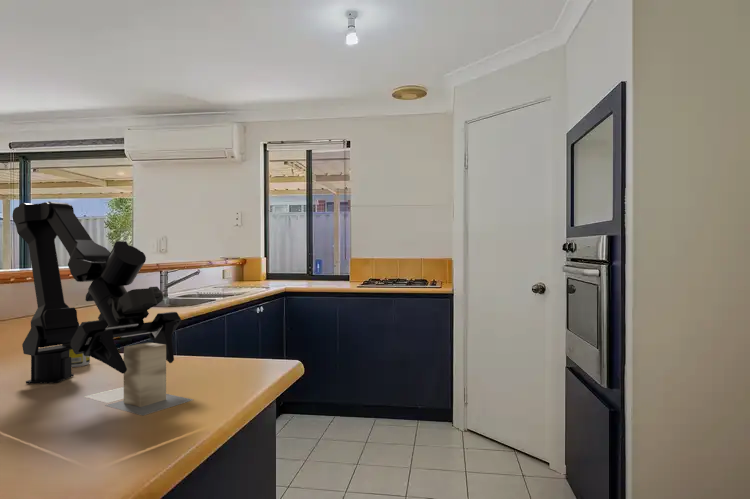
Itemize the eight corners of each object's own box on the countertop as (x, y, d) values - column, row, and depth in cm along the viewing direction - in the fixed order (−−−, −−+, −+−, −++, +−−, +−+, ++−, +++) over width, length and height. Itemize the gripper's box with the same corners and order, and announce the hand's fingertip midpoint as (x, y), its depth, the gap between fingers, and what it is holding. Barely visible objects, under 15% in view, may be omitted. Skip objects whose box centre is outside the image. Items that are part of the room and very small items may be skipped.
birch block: (123, 402, 85) (123, 346, 86) (149, 395, 90) (149, 342, 90) (140, 407, 83) (140, 349, 83) (166, 399, 87) (166, 344, 87)
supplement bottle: (80, 362, 122) (81, 323, 122) (94, 364, 119) (94, 324, 120) (59, 366, 117) (59, 326, 117) (72, 368, 114) (72, 327, 115)
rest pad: (83, 398, 89) (83, 396, 90) (124, 388, 96) (124, 386, 96) (107, 404, 85) (107, 403, 85) (148, 393, 92) (148, 392, 92)
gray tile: (104, 407, 84) (104, 405, 84) (156, 393, 93) (156, 391, 93) (142, 417, 78) (142, 415, 78) (194, 401, 87) (194, 399, 87)
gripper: (79, 274, 81) (117, 345, 75) (175, 271, 97) (213, 329, 91) (55, 318, 85) (89, 389, 79) (151, 308, 101) (186, 367, 95)
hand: (149, 366), depth 86 cm, fingers open, 9 cm apart
